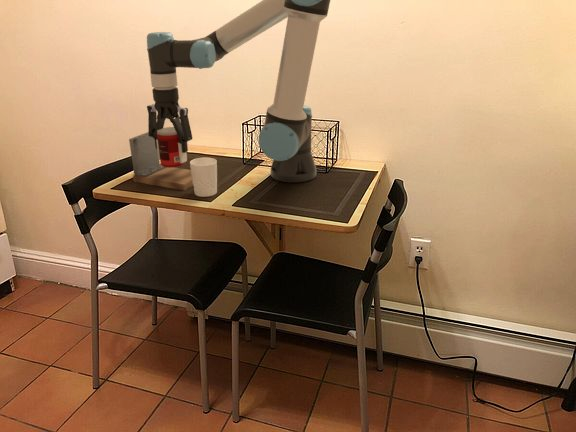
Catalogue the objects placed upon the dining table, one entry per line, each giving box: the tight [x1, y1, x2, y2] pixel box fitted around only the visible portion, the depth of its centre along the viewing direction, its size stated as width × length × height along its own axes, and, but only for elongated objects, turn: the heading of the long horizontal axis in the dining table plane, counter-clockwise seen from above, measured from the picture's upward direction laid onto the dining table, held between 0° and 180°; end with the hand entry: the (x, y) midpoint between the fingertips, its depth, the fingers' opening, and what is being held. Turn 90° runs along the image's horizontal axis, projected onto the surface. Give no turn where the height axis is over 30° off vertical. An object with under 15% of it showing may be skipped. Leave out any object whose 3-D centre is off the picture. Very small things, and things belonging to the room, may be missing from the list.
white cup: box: [189, 156, 218, 198], centre depth 149 cm, size 8×8×10 cm
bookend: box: [128, 131, 166, 177], centre depth 161 cm, size 5×11×12 cm, turn 155°
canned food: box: [157, 126, 186, 168], centre depth 156 cm, size 8×8×11 cm
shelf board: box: [132, 167, 194, 191], centre depth 161 cm, size 20×12×2 cm, turn 65°
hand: (172, 160), depth 158 cm, fingers closed on canned food, 8 cm apart
